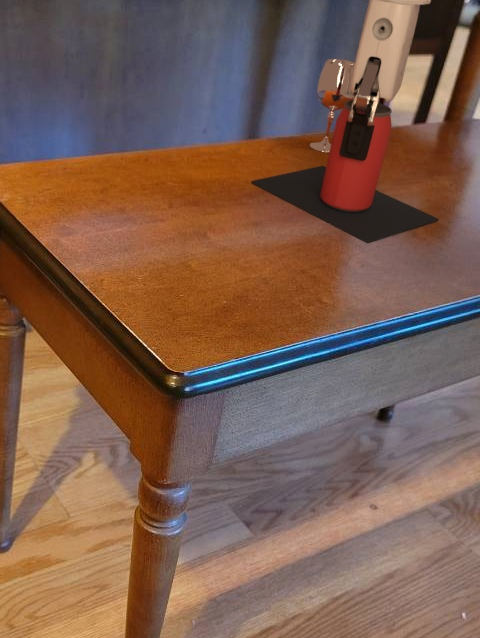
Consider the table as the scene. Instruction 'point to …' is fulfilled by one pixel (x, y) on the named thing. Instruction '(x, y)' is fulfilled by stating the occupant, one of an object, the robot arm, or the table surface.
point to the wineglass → (333, 93)
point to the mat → (365, 225)
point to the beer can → (355, 165)
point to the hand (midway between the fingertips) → (358, 147)
